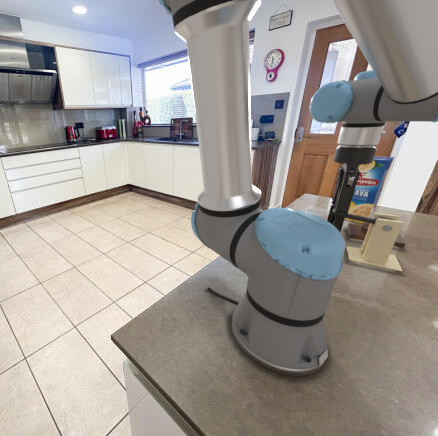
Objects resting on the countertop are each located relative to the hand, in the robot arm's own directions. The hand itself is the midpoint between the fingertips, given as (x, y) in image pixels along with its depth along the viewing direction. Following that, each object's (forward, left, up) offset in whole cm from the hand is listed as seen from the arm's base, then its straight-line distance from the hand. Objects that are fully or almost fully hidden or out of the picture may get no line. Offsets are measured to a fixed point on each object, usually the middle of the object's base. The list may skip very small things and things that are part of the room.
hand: (331, 231), depth 65 cm
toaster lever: (+5, 0, +4) cm, 6 cm away
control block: (+12, +15, -6) cm, 20 cm away
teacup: (-3, +20, -7) cm, 21 cm away
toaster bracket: (+10, 0, -6) cm, 12 cm away
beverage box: (+8, +32, -7) cm, 34 cm away
